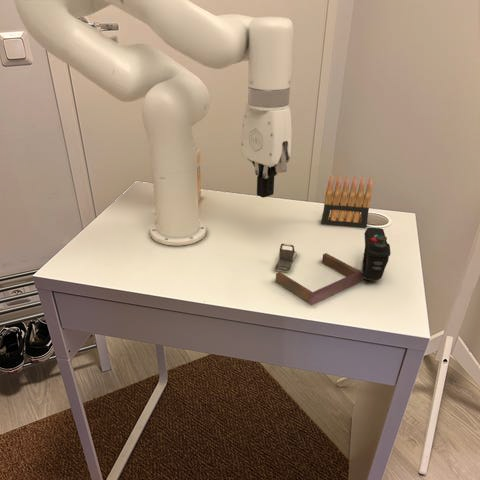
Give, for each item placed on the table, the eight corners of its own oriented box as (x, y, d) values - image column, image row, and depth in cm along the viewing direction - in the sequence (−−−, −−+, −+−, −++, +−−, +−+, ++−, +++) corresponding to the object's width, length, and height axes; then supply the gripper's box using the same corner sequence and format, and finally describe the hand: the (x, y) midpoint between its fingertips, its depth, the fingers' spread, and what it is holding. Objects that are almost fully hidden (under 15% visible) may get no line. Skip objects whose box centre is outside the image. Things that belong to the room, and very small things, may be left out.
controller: (360, 289, 90) (370, 242, 84) (357, 259, 100) (366, 215, 94) (383, 292, 89) (395, 245, 84) (378, 261, 99) (388, 217, 93)
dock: (275, 282, 92) (275, 273, 90) (324, 261, 99) (326, 252, 98) (311, 305, 85) (312, 296, 84) (361, 281, 93) (363, 272, 91)
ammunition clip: (365, 224, 114) (375, 176, 107) (366, 228, 112) (375, 179, 105) (321, 221, 115) (327, 172, 108) (321, 224, 114) (327, 175, 106)
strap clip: (283, 252, 102) (285, 234, 99) (297, 254, 101) (299, 236, 98) (273, 271, 95) (275, 252, 93) (288, 273, 94) (290, 254, 92)
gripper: (227, 93, 88) (228, 188, 99) (281, 107, 79) (275, 211, 89) (258, 89, 92) (255, 181, 103) (312, 102, 82) (303, 202, 93)
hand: (265, 194), depth 96 cm, fingers closed
